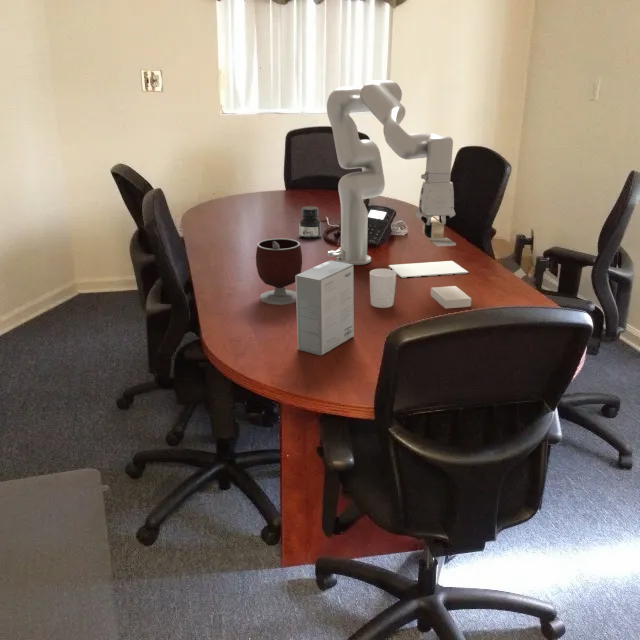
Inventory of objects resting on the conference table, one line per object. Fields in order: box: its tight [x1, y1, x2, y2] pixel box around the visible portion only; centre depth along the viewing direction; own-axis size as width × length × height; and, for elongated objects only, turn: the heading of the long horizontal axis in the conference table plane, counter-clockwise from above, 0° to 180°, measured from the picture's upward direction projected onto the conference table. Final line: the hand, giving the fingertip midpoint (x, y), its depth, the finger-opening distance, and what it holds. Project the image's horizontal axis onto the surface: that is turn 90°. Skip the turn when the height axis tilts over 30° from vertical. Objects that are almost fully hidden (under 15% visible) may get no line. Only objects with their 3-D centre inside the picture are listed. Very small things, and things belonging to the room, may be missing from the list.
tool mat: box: [388, 260, 469, 279], centre depth 233 cm, size 24×14×1 cm, turn 103°
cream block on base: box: [422, 216, 457, 247], centre depth 209 cm, size 16×6×5 cm, turn 13°
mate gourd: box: [255, 238, 303, 306], centre depth 202 cm, size 16×14×20 cm
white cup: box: [369, 268, 397, 309], centre depth 199 cm, size 8×8×10 cm
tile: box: [430, 285, 472, 309], centre depth 203 cm, size 8×3×12 cm
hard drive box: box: [295, 260, 355, 357], centre depth 170 cm, size 16×8×20 cm, turn 145°
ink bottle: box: [298, 205, 322, 239], centre depth 276 cm, size 10×9×12 cm
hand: (433, 235), depth 212 cm, fingers closed on cream block on base, 3 cm apart
